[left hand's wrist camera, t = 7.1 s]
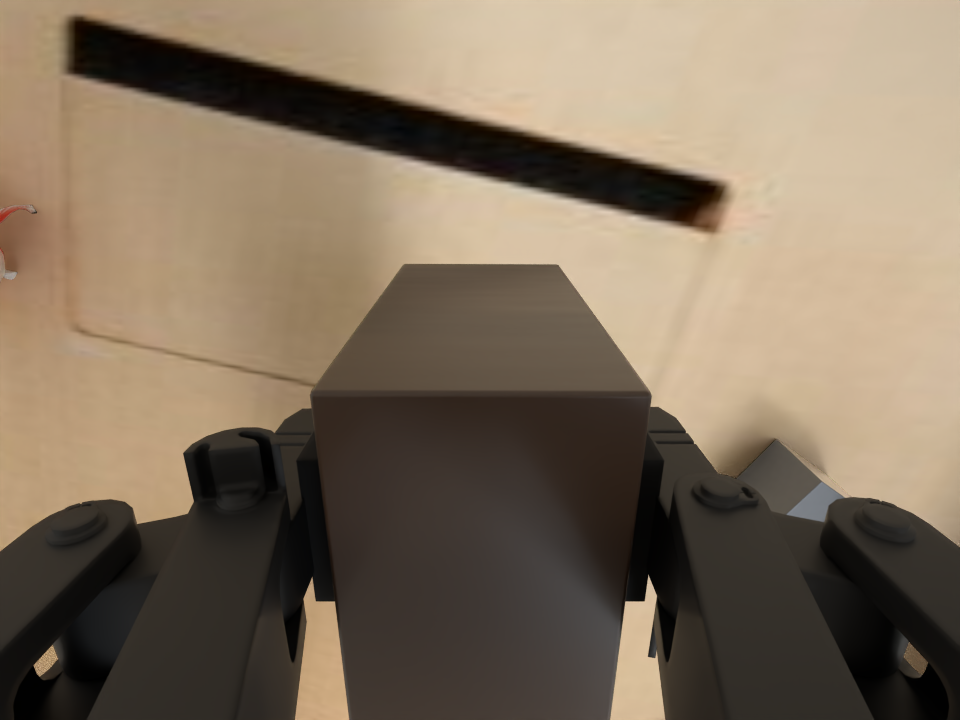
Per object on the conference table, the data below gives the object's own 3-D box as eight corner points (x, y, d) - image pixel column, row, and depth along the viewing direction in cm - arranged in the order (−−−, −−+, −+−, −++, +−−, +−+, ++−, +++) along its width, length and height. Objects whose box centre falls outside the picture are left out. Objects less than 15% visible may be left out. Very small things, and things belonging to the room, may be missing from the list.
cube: (776, 438, 32) (822, 481, 27) (828, 475, 32) (880, 522, 28) (722, 491, 33) (758, 539, 29) (774, 525, 34) (816, 577, 30)
